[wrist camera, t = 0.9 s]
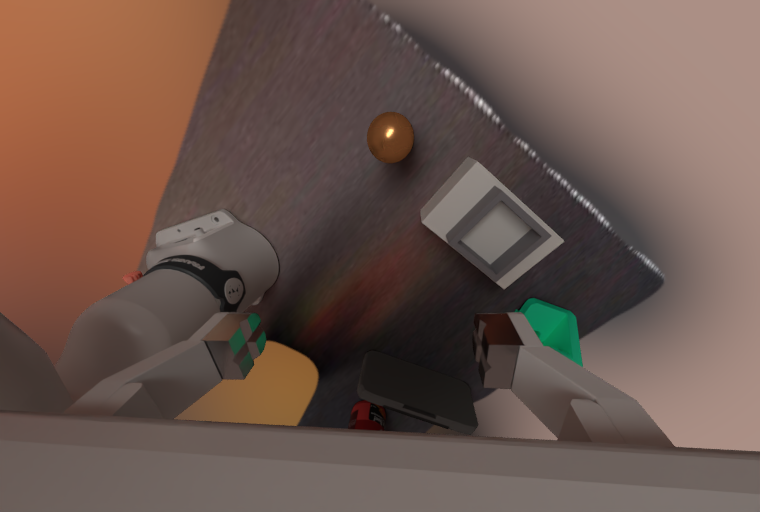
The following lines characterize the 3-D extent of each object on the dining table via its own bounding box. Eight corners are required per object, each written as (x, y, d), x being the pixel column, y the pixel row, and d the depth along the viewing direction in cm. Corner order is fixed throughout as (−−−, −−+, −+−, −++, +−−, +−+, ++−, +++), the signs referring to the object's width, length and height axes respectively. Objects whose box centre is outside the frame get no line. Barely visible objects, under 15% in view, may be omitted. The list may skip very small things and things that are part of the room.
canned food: (390, 418, 63) (386, 471, 54) (359, 422, 65) (350, 474, 55) (379, 396, 61) (373, 448, 51) (347, 401, 62) (335, 452, 53)
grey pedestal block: (544, 226, 40) (577, 250, 32) (492, 270, 44) (511, 301, 36) (467, 156, 37) (483, 163, 29) (420, 210, 41) (422, 229, 33)
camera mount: (527, 292, 46) (556, 333, 36) (567, 307, 46) (606, 351, 37) (491, 341, 51) (509, 388, 42) (528, 354, 51) (553, 403, 42)
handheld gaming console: (363, 356, 56) (354, 399, 47) (367, 347, 55) (358, 389, 46) (463, 390, 57) (473, 439, 48) (469, 382, 56) (481, 430, 47)
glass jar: (380, 157, 39) (370, 165, 30) (375, 119, 37) (363, 115, 28) (414, 153, 38) (415, 160, 29) (412, 114, 36) (412, 108, 27)
